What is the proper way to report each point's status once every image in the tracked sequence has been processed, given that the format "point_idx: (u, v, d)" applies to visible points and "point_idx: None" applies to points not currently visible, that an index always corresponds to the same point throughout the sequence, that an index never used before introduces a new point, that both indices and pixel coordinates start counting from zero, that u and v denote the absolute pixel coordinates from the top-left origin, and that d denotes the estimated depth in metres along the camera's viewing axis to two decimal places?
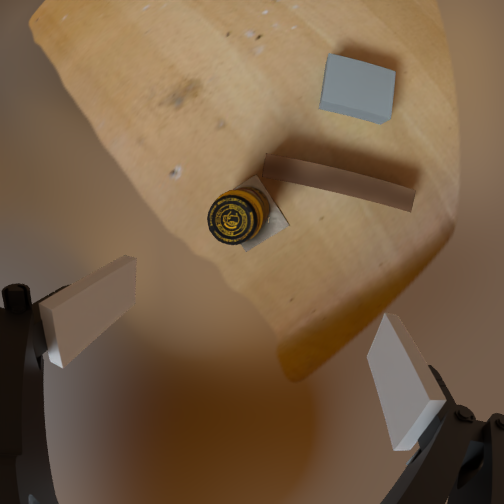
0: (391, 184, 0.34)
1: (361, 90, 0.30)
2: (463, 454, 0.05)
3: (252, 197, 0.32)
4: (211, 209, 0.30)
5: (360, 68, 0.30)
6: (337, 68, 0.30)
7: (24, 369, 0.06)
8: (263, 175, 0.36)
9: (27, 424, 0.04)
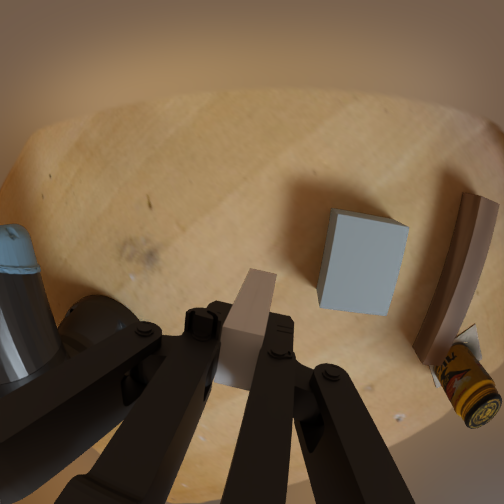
0: (475, 230, 0.24)
1: (373, 267, 0.26)
2: (291, 392, 0.07)
3: (469, 390, 0.23)
4: (471, 427, 0.21)
5: (340, 267, 0.26)
6: (342, 298, 0.27)
7: (187, 407, 0.06)
8: (440, 364, 0.28)
9: (166, 464, 0.05)
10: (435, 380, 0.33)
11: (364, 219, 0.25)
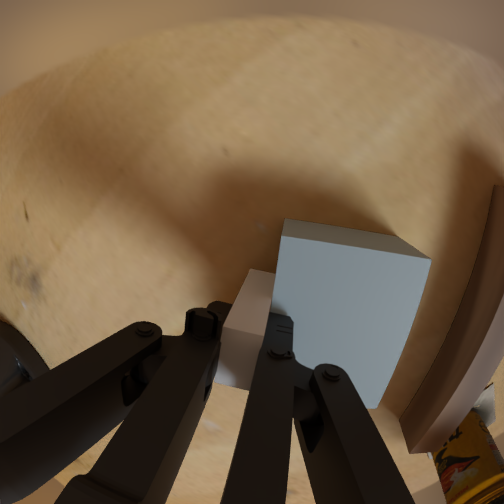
0: None
1: (357, 338, 0.13)
2: (291, 392, 0.07)
3: (472, 491, 0.11)
4: None
5: None
6: None
7: (187, 407, 0.06)
8: (436, 450, 0.16)
9: (166, 464, 0.05)
10: (428, 452, 0.20)
11: (339, 245, 0.12)
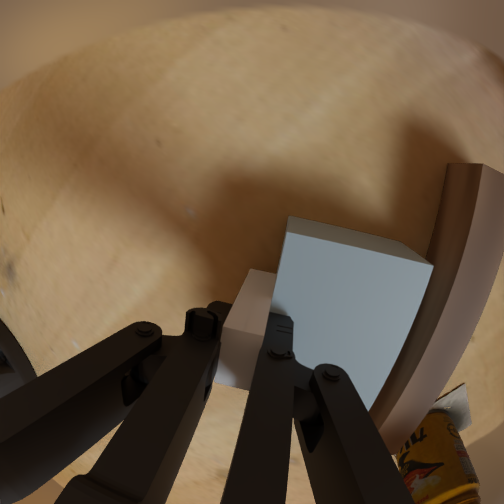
0: (472, 234, 0.12)
1: (354, 339, 0.13)
2: (291, 392, 0.07)
3: (432, 501, 0.11)
4: None
5: None
6: None
7: (187, 407, 0.06)
8: (394, 453, 0.16)
9: (166, 464, 0.05)
10: (396, 455, 0.21)
11: (344, 245, 0.12)
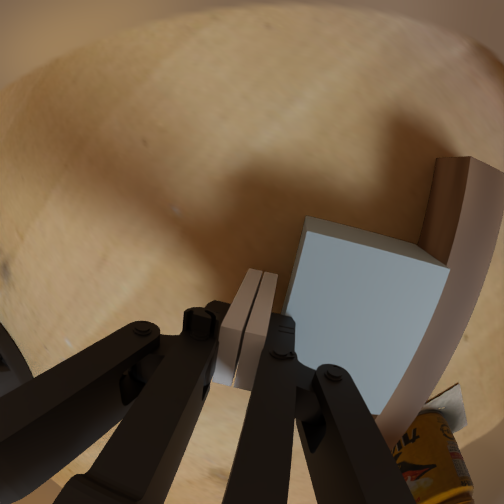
0: (460, 229, 0.11)
1: (370, 341, 0.13)
2: (293, 392, 0.07)
3: None
4: None
5: (304, 336, 0.13)
6: None
7: (186, 406, 0.06)
8: None
9: (164, 464, 0.05)
10: None
11: (363, 246, 0.12)
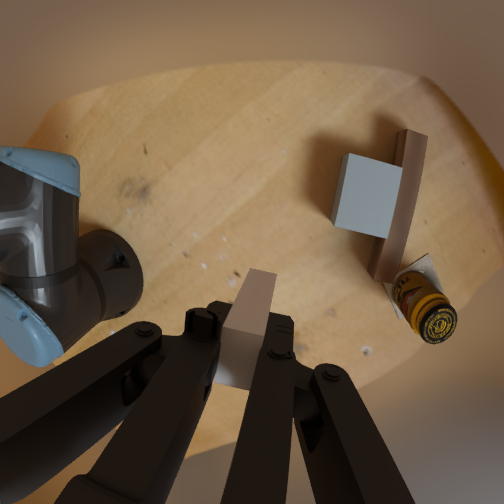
0: (405, 156, 0.31)
1: (376, 196, 0.33)
2: (291, 392, 0.07)
3: (420, 302, 0.31)
4: (428, 341, 0.29)
5: (351, 194, 0.33)
6: (352, 219, 0.34)
7: (187, 407, 0.06)
8: (392, 282, 0.36)
9: (166, 464, 0.05)
10: (396, 310, 0.40)
11: (368, 158, 0.32)
